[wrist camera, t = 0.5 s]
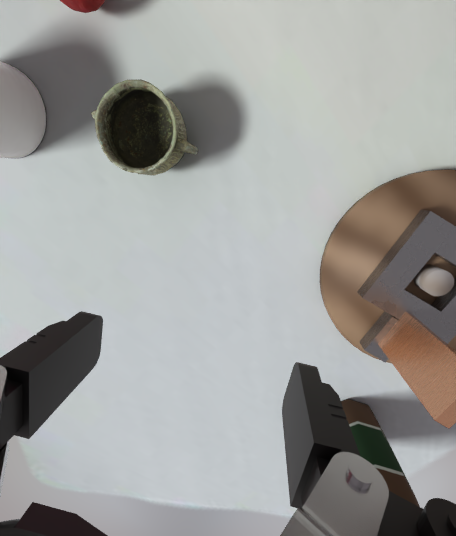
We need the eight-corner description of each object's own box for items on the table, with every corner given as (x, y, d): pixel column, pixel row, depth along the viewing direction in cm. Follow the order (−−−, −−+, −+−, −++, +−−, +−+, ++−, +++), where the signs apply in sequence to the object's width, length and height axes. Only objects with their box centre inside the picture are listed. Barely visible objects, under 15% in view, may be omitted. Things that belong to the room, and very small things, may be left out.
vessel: (214, 115, 34) (204, 100, 28) (193, 190, 37) (179, 191, 31) (117, 82, 34) (86, 60, 28) (102, 159, 37) (71, 153, 31)
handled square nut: (420, 209, 33) (532, 225, 19) (505, 261, 33) (670, 312, 20) (331, 325, 37) (370, 403, 24) (406, 369, 38) (486, 469, 24)
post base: (383, 135, 33) (407, 125, 28) (579, 222, 33) (640, 229, 28) (287, 315, 40) (291, 335, 34) (450, 386, 40) (479, 417, 35)
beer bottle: (309, 421, 44) (364, 682, 21) (347, 387, 42) (454, 636, 18) (349, 450, 44) (446, 736, 21) (388, 418, 42) (542, 698, 19)
